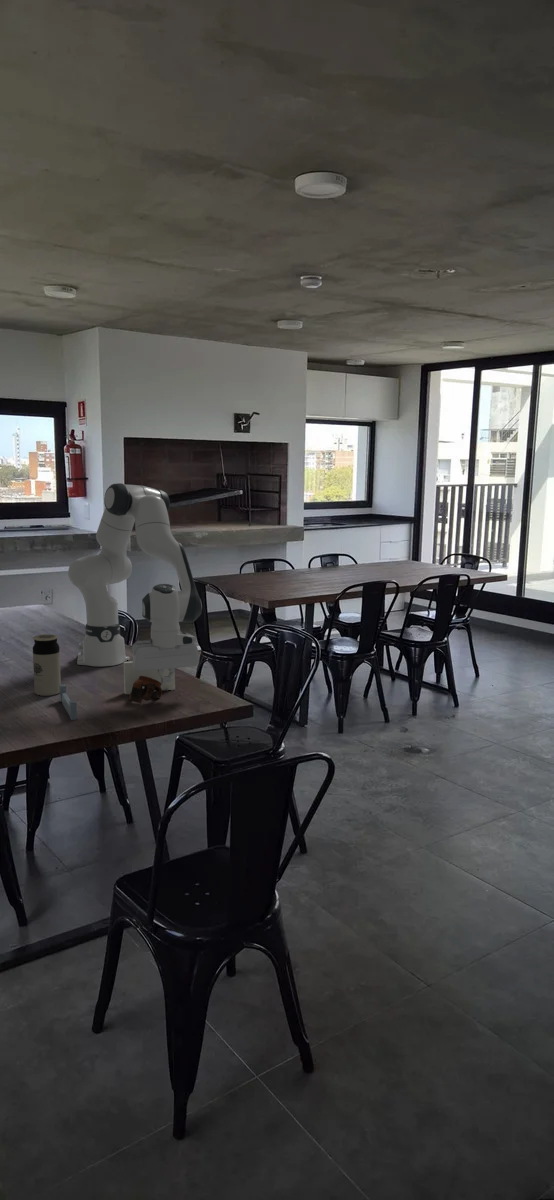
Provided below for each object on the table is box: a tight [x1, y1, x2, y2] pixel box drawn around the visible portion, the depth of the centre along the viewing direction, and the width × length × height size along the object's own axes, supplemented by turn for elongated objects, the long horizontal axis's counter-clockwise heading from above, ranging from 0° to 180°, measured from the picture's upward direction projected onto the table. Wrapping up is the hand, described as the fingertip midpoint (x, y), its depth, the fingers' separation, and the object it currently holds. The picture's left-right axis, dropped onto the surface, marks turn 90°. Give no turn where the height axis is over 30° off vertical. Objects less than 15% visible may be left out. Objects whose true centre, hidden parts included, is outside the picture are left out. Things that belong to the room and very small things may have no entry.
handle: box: [59, 683, 78, 721], centre depth 235 cm, size 20×2×5 cm, turn 24°
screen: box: [123, 660, 176, 695], centre depth 254 cm, size 4×16×10 cm, turn 113°
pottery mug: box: [128, 676, 163, 704], centre depth 245 cm, size 12×10×8 cm
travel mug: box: [32, 633, 62, 697], centre depth 250 cm, size 8×8×18 cm
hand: (166, 682), depth 246 cm, fingers closed
